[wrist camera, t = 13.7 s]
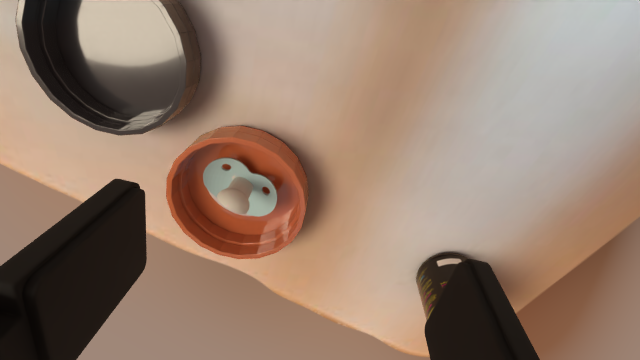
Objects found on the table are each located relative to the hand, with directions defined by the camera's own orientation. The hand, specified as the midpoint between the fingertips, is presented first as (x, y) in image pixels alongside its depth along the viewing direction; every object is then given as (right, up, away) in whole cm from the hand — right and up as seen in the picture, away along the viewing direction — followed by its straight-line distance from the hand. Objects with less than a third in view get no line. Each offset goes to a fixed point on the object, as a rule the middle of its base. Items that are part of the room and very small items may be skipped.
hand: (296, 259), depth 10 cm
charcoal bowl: (-16, +14, +20) cm, 29 cm away
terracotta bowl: (-7, +2, +25) cm, 26 cm away
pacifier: (-7, +2, +25) cm, 26 cm away
